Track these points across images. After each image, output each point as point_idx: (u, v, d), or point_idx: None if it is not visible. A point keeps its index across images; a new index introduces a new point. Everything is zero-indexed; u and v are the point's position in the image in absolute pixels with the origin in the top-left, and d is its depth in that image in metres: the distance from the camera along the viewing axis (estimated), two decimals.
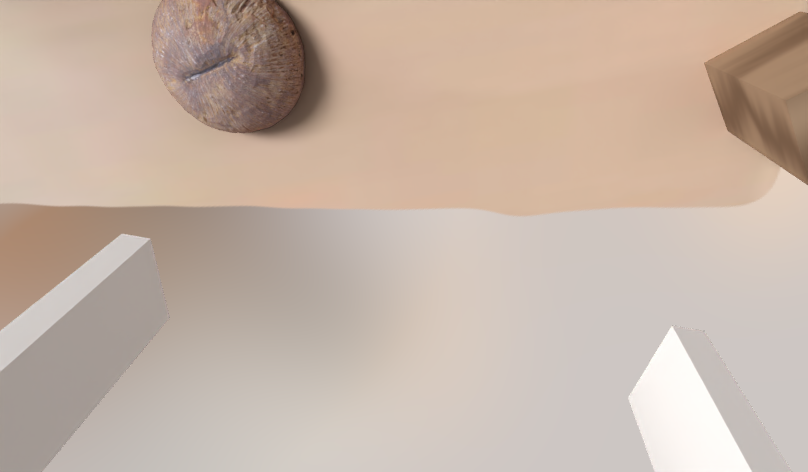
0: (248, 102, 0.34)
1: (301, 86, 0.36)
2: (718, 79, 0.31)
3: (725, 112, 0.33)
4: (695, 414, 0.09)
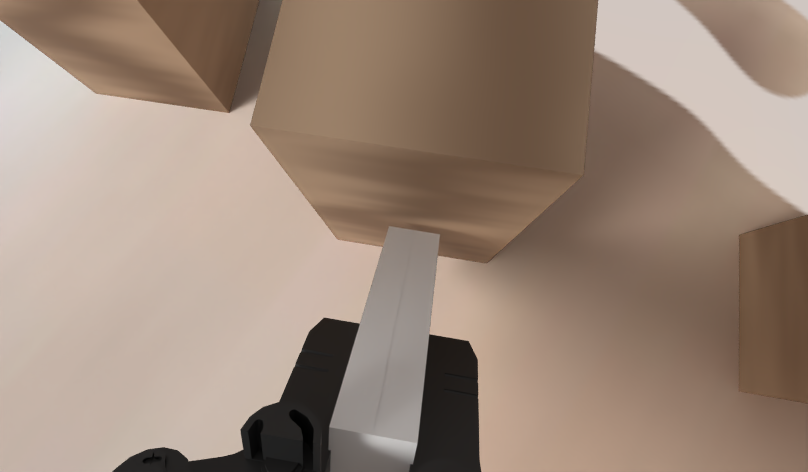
0: None
1: None
2: None
3: None
4: None
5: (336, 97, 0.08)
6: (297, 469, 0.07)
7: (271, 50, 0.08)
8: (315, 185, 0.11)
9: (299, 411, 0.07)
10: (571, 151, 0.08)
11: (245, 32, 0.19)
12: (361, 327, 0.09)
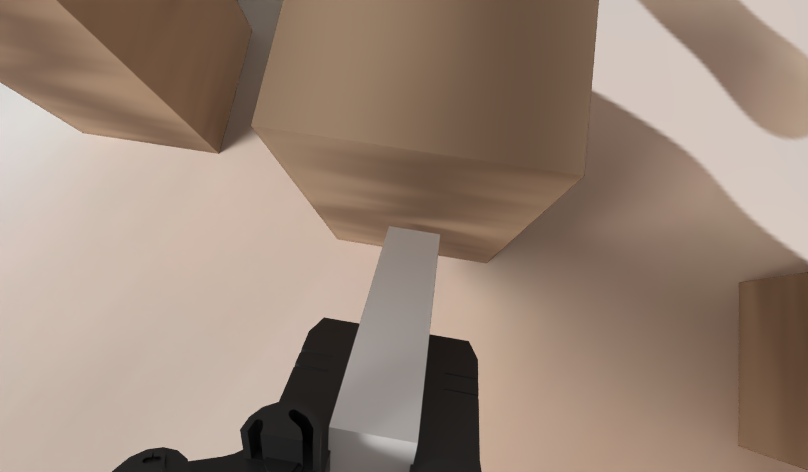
0: None
1: None
2: None
3: None
4: None
5: (337, 98, 0.08)
6: (297, 469, 0.07)
7: (272, 50, 0.08)
8: (315, 185, 0.11)
9: (299, 411, 0.07)
10: (572, 152, 0.08)
11: (235, 70, 0.19)
12: (361, 327, 0.09)
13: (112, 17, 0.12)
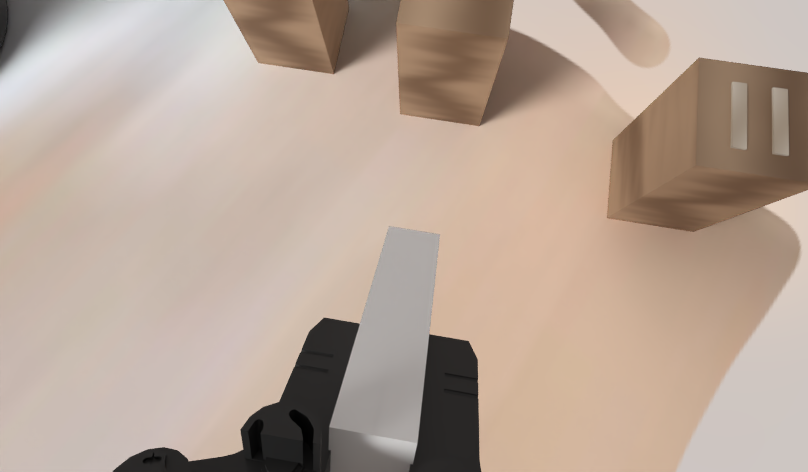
0: None
1: None
2: (631, 213, 0.30)
3: (671, 224, 0.30)
4: None
5: (425, 14, 0.24)
6: (297, 469, 0.07)
7: None
8: (406, 59, 0.27)
9: (299, 411, 0.07)
10: (504, 31, 0.23)
11: (342, 29, 0.35)
12: (361, 327, 0.09)
13: None
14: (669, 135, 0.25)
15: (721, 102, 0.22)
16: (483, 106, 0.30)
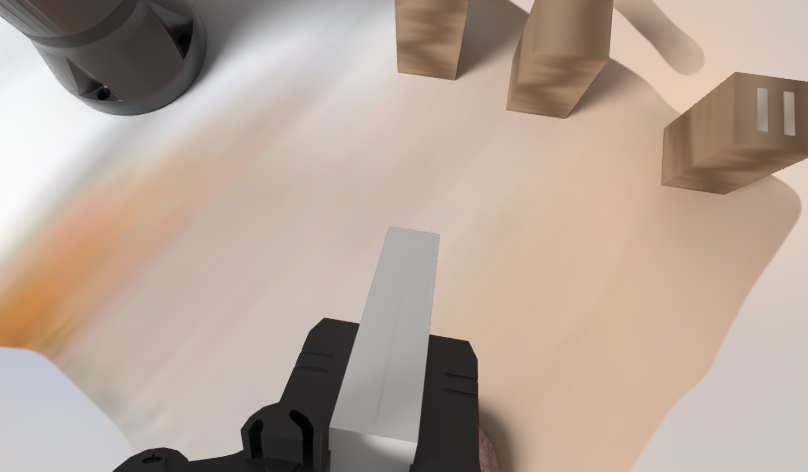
0: None
1: (490, 441, 0.37)
2: (681, 180, 0.42)
3: (708, 188, 0.42)
4: None
5: (551, 42, 0.35)
6: (297, 469, 0.07)
7: (534, 32, 0.36)
8: (529, 71, 0.38)
9: (299, 411, 0.07)
10: (605, 54, 0.35)
11: None
12: (361, 327, 0.09)
13: None
14: (713, 123, 0.37)
15: (751, 101, 0.34)
16: (574, 104, 0.42)
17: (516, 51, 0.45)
